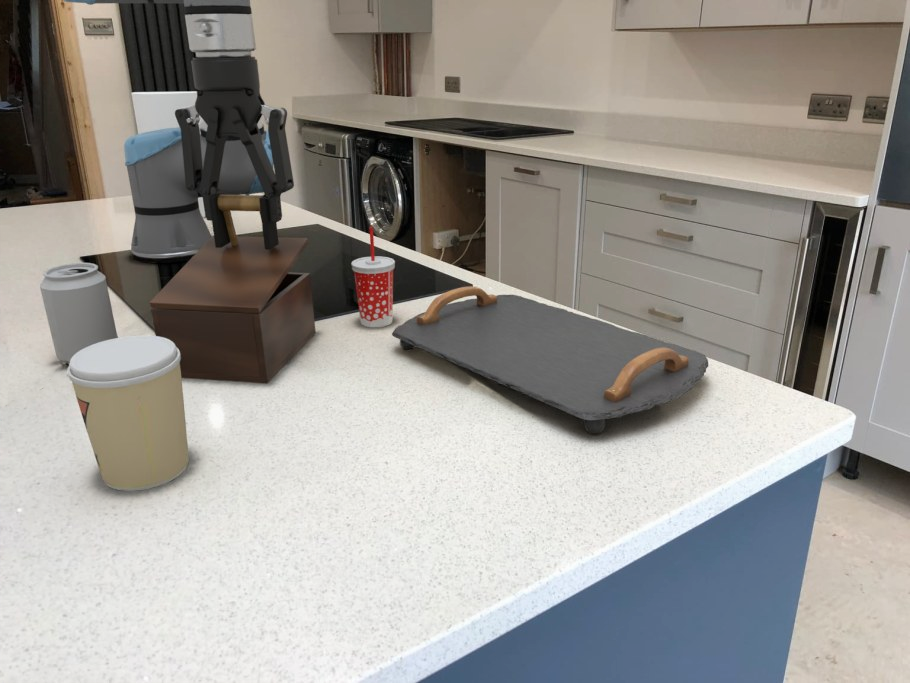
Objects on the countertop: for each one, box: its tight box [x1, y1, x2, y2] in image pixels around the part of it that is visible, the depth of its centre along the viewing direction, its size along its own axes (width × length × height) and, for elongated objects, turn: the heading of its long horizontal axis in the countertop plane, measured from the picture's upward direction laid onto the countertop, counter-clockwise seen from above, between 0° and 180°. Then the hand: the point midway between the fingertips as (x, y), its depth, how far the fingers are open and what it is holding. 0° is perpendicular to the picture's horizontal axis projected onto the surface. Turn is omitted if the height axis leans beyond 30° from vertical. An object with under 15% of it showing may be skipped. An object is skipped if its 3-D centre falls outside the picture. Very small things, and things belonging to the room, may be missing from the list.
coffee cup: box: [66, 334, 189, 492], centre depth 68 cm, size 9×9×12 cm
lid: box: [149, 194, 309, 313], centre depth 90 cm, size 17×14×8 cm
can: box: [39, 262, 119, 365], centre depth 94 cm, size 8×8×12 cm
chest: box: [150, 271, 317, 385], centre depth 94 cm, size 17×14×9 cm
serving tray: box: [391, 285, 709, 436], centre depth 90 cm, size 39×23×6 cm, turn 42°
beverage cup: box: [350, 226, 396, 328], centre depth 104 cm, size 6×6×14 cm
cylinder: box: [130, 90, 206, 218], centre depth 175 cm, size 17×17×28 cm
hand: (247, 245), depth 95 cm, fingers closed on lid, 6 cm apart
